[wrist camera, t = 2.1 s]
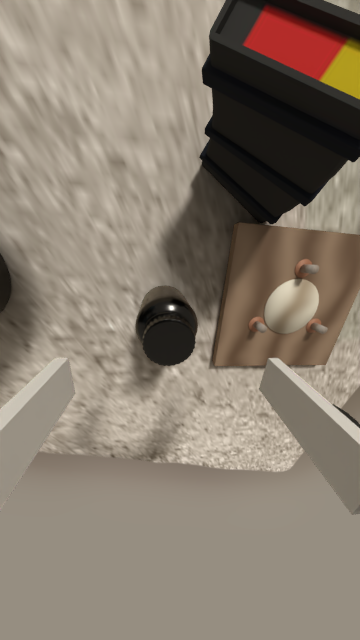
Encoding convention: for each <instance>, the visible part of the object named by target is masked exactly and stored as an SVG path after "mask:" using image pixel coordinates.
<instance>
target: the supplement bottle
mask: <svg viewBox="0 0 360 640" xmlns="http://www.w3.org/2000/svg"><path fill="white" fill-rule="evenodd" d="M197 328H198V323H197V318H196V315H195V313H194V311H193V309H192V308H191V306H190V305H189V303H188V302H187V300H186V299H185V297H184V296H183V295H182V293H181V292H180V291H178V290H177V289H175V288H173V287H171V286H158V287H155V288H153V289H152V290H150V291H149V292H148V293H147V294H146V296H145V297H144V299H143V302H142V304H141V307H140V310H139V313H138V316H137V319H136V333H137V336H138V339H139V340H140V342H141V343H142V345H143V349H144V351H145V354H146V355H147V357H148V358H150V360H151V361H154V362H155V363H158V364H159V365H164V366H166V365H168V366H170V365H175V364H179V363H180V362H183V361H184V360H186V359H187V358H188V357H189V356H190V355H191V353H192V352H193V349H194V348H195V343H196V342H195V336H196V333H197Z"/></svg>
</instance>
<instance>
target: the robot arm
mask: <svg viewBox="0 0 360 640" xmlns="http://www.w3.org/2000/svg"><path fill="white" fill-rule="evenodd" d="M10 286H11V285H10V277H9V272H8V269H7V266H6V264H5V262H4V260H3V258H2V256H1V254H0V312H1V311H2V310H3V309H4V307H5V306H6V304H7V302H8V299H9V296H10ZM259 390H260V391H261V392H262V394H263V395H264V396H265V398H266V399H267V400H268V402H269V403H270V404H271V406H272V407H273V409H274V410H275V411H276V413H277V414H278V415H279V417H280V418H281V419H282V421H283V422H284V423H285V425H286V426H287V427H288V429H289V430H290V432H291V433H292V434H293V436H294V437H295V438H296V440H297V441H298V442H299V444H300V445H301V446H302V448H303V449H304V450H305V452H306V453H307V454H308V456H309V457H310V458H311V460H312V461H313V463H314V464H315V465H316V467H317V468H318V469H319V471H320V472H321V473H322V475H323V476H324V477H325V479H326V480H327V482H328V483H329V484H330V486H331V487H332V488H333V490H334V491H335V492H336V494H337V495H338V496H339V498H340V499H341V500H342V502H343V503H344V504H345V506H346V507H347V509H348V510H349V511H350V512H351V514H352V515H354V514H360V424H359V423H358V422H357V421H356V420H355V419H353V417H351V416H350V415H349V414H348V413H346V412H345V411H343V410H341V409H340V408H338V407H337V406H335V405H334V404H331V403H330V402H328V401H327V400H326V399H325V398H324V397H323V396H322V395H320V394H319V393H318V392H317V391H316V390H315V389H313V388H312V387H311V386H310V385H309V384H308V383H306V382H305V381H304V380H303V379H302V378H301V377H300V376H298V375H297V374H296V373H295V372H294V371H293V370H291V369H290V368H289V367H288V366H287V365H286V364H284V363H283V362H282V361H281V360H280V359H279V358H268V360H267V364H266V367H265V371H264V374H263V377H262V381H261V384H260V388H259ZM74 395H75V389H74V383H73V378H72V373H71V368H70V362H69V358H54V359H53V360H52V361H51V362H50V363H49V364H48V365H47V366H46V367H45V368H44V369H43V370H42V371H41V372H39V373H38V374H37V375H36V376H35V377H34V378H33V379H32V380H31V381H30V382H29V383H28V384H27V385H26V386H25V387H23V388H22V389H21V390H20V391H19V392H18V393H17V394H16V395H15V396H14V397H13V398H12V399H11V400H10V401H8V402H7V403H6V404H5V405H4V406H3V407H2V408H1V409H0V510H1V508H2V507H3V506H4V504H5V502H6V501H7V499H8V498H9V496H10V495H11V493H12V491H13V490H14V488H15V487H16V485H17V484H18V482H19V481H20V479H21V477H22V476H23V474H24V473H25V471H26V470H27V468H28V467H29V465H30V463H31V462H32V460H33V459H34V457H35V456H36V454H37V452H38V451H39V449H40V448H41V446H42V445H43V443H44V442H45V440H46V438H47V437H48V435H49V434H50V432H51V431H52V429H53V427H54V426H55V424H56V423H57V421H58V420H59V418H60V417H61V415H62V413H63V412H64V410H65V409H66V407H67V406H68V404H69V402H70V401H71V399H72V398H73V396H74Z"/></svg>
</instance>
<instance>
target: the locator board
mask: <svg viewBox="0 0 360 640" xmlns="http://www.w3.org/2000/svg"><path fill="white" fill-rule="evenodd" d="M359 289H360V235H355V234H345V233H336V232H326V231H317V230H307V229H297V228H288V227H278V226H269V225H259V224H250V223H240V222H239V223H236V224H234V229H233V235H232V241H231V247H230V254H229V260H228V266H227V272H226V279H225V285H224V291H223V297H222V303H221V310H220V316H219V322H218V328H217V335H216V341H215V347H214V353H213V360H212V361H213V363H214V365H215V366H258V365H266V364H267V360H268V358H279V359H280V360H281V361H282V362H283V363H284V364H286V365H326V363H327V361H328V359H329V356H330V354H331V352H332V350H333V347H334V345H335V343H336V341H337V338H338V336H339V334H340V332H341V329H342V327H343V325H344V323H345V320H346V318H347V316H348V314H349V311H350V309H351V307H352V305H353V303H354V300H355V298H356V296H357V294H358V291H359Z"/></svg>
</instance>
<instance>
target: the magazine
mask: <svg viewBox="0 0 360 640" xmlns="http://www.w3.org/2000/svg"><path fill="white" fill-rule="evenodd" d="M209 40H210V54H209V56H208V58H207V60H206V62H205V64H204V65H203V67H202V77H203V84H205V85H207V86H209V87H210V88H212V97H213V116H212V117H211V119H210V121H209V122H208V124H207V126H206V128H205V134H206V135H207V136H208V137H210V140H209V141H208V143H207V145H206V146H205V148H204V150H203V151H202V153H201V155H200V159H201V160H202V164H203V166H204V167H205V168H206V169H207V170H208V171H209V172H210V173H211V174H212V175H213V176H214V177H215V178H216V179H217V180H218V181H219V182H220V183H221V184H222V185H223V186H224V187H225V188H226V189H227V190H228V191H229V192H230V193H231V194H232V195H233V196H234V197H235V198H236V199H237V200H238V201H239V202H240V203H241V204H242V205H243V206H244V207H245V208H246V209H247V211H248V212H249V213H250V214H251V215H252V216H253V217H254V218H255V219H256V220H257V221H258V222H259V223H263V222H265V221H267V222H269V223H270V224H274V223H276V222H277V221H278V219H279V218H280V217H281V216H282V214H284V213H286V212H288V211H290V210H291V209H293V208H294V207H295V206H297V205H298V204H299V203H301V204H302V205H303V206H306V205H308V204H309V203H310V202H311V201H313V199H314V198H315V197H316V196H317V194H318V193H319V192H320V191H321V189H322V188H323V187H324V186H325V184H326V183H327V182H328V181H329V179H331V178H332V177H333V176H334V175H335V174H336V173H337V172H338V171H339V170H340V169H341V168H342V166H343V165H344V164H345V163H346V162H347V161H348V160H350V161H351V162H355V161H356V160H357V159H358V158H359V157H360V14H357V13H355V12H352V11H349V10H347V9H344V8H342V7H339V6H337V5H334V4H331V3H329V2H326V1H324V0H226V1H225V3H224V5H223V7H222V9H221V11H220V13H219V15H218V17H217V19H216V20H215V22H214V24H213V26H212V28H211V30H210V35H209Z"/></svg>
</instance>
